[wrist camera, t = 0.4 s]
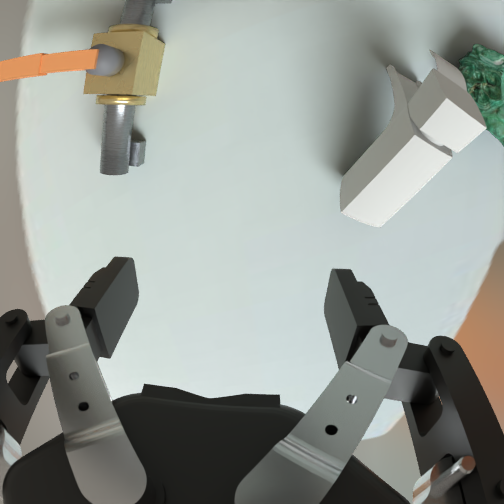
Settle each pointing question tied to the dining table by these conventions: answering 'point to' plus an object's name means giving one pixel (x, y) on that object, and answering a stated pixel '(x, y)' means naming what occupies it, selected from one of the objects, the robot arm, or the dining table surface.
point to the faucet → (411, 143)
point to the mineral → (486, 86)
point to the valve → (127, 84)
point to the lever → (65, 63)
